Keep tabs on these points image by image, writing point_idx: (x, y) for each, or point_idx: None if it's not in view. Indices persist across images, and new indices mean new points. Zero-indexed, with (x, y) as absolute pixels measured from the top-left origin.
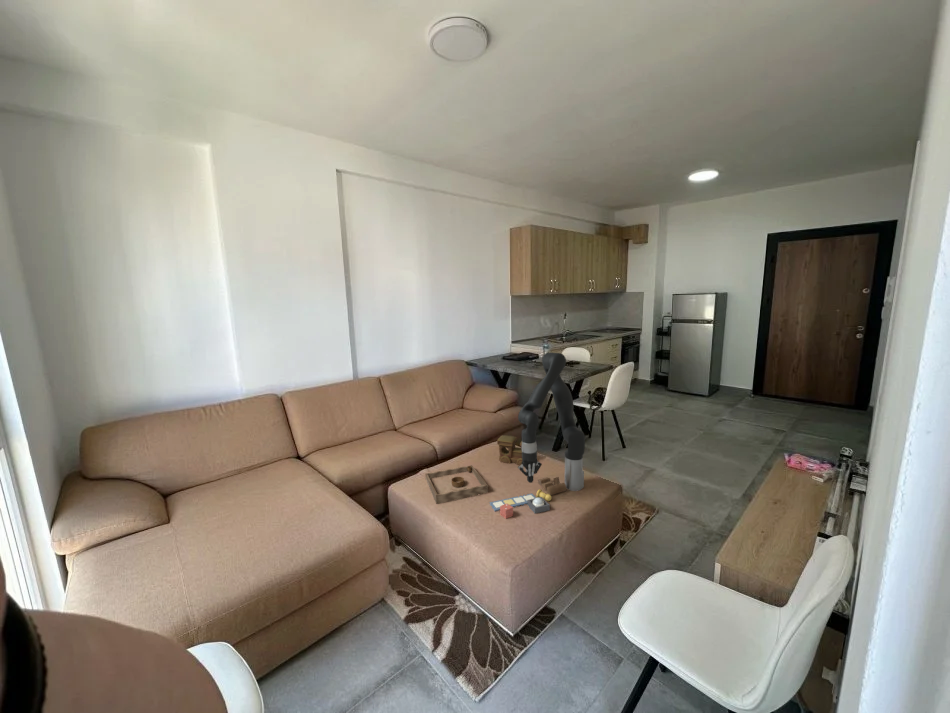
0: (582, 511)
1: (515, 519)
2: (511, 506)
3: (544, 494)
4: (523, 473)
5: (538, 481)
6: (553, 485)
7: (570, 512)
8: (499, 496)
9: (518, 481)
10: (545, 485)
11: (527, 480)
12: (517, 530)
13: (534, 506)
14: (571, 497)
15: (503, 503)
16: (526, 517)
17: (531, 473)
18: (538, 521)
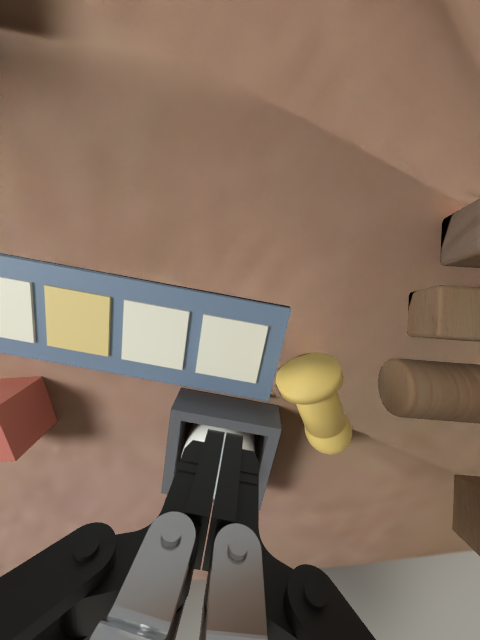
0: (384, 555)
1: (55, 449)
2: (9, 450)
3: (316, 429)
4: (59, 556)
5: (468, 212)
6: (472, 399)
7: (331, 535)
8: (61, 191)
9: (354, 27)
10: (434, 337)
11: (187, 448)
12: (30, 508)
13: (169, 480)
14: (465, 457)
15: (37, 311)
16: (114, 464)
17: (201, 629)
18: (150, 510)
